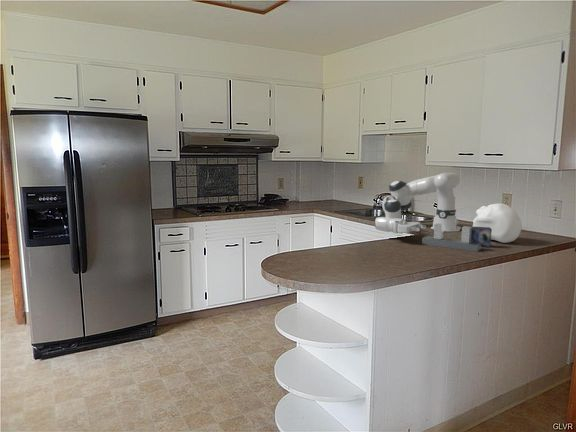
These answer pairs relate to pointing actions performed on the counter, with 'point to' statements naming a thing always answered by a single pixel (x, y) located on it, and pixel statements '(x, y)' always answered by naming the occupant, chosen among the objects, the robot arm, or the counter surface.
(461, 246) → the rail
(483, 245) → the small box
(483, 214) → the head
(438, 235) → the clip
